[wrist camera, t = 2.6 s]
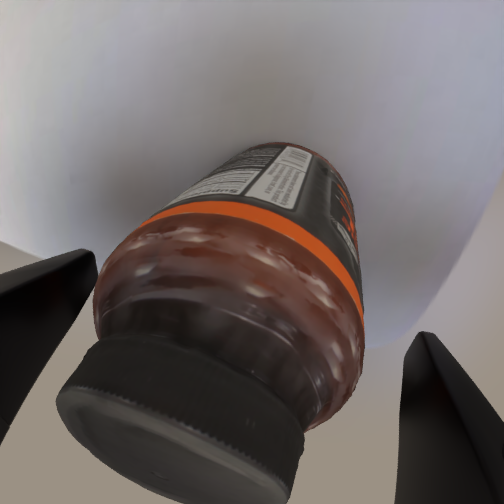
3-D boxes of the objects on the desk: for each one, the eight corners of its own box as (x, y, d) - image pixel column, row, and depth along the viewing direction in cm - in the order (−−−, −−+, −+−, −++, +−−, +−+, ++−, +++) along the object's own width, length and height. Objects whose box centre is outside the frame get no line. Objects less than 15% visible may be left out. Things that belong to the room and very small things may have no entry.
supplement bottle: (357, 264, 14) (348, 537, 4) (232, 271, 16) (116, 488, 6) (343, 129, 11) (390, 376, 2) (201, 151, 13) (-39, 318, 3)
